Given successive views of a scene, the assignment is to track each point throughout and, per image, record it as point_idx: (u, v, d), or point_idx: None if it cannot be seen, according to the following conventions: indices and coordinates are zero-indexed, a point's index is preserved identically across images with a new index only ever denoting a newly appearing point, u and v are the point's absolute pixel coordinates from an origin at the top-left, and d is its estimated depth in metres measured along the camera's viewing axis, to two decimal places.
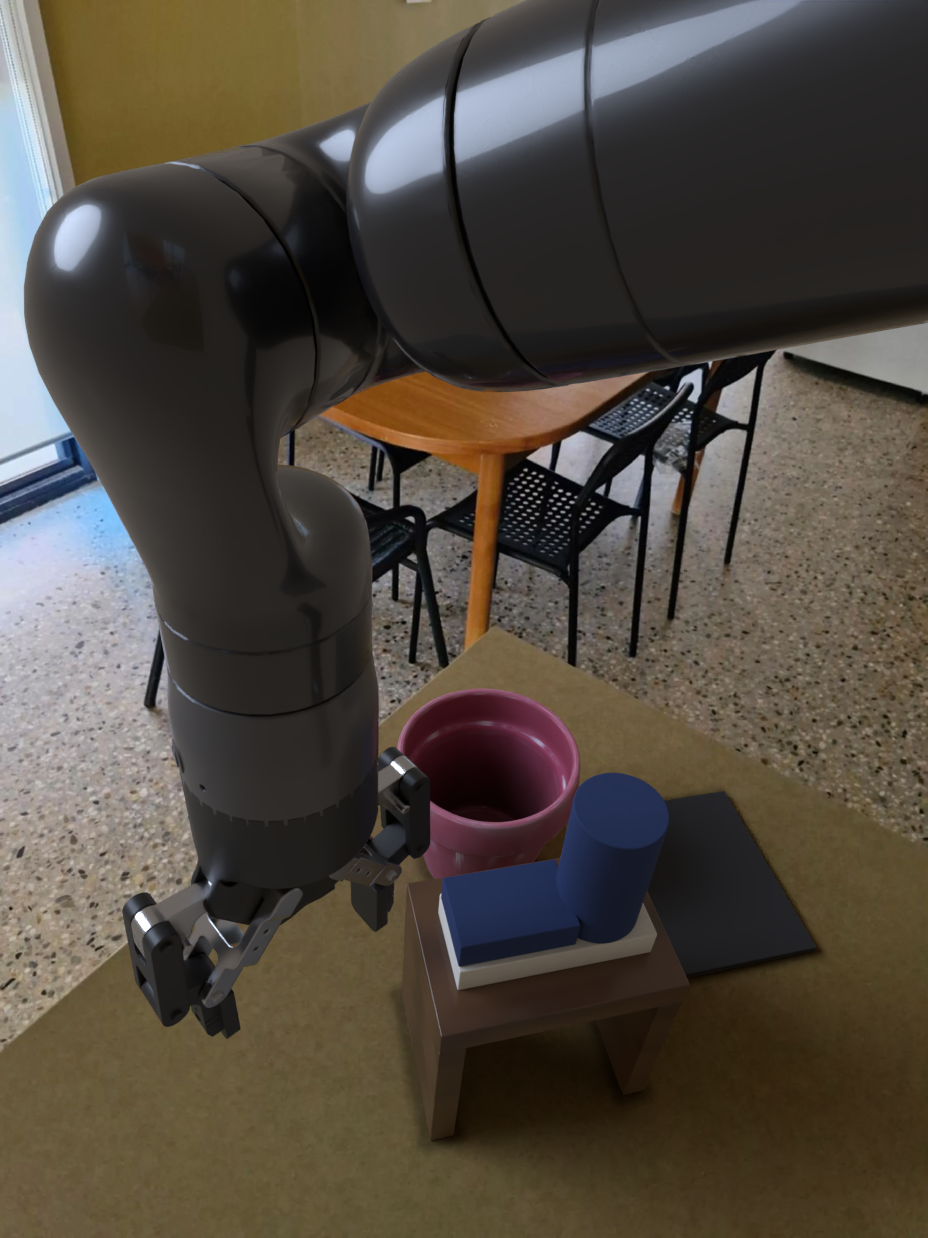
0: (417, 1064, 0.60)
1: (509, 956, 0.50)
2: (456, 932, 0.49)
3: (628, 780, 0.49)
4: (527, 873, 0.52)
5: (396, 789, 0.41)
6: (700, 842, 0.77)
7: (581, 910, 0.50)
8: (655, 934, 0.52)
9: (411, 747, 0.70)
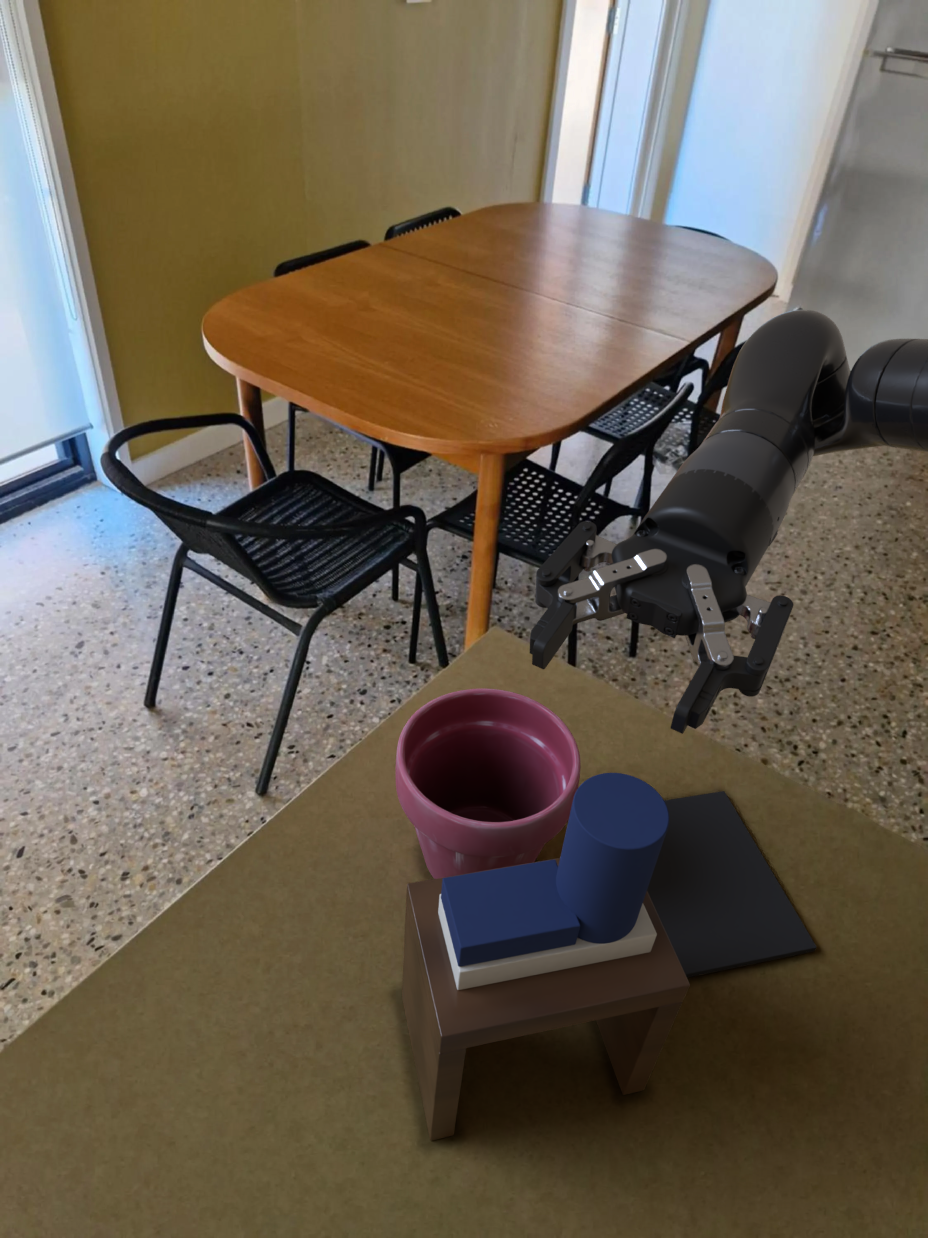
0: (417, 1064, 0.60)
1: (509, 956, 0.50)
2: (456, 932, 0.49)
3: (628, 780, 0.49)
4: (527, 873, 0.52)
5: None
6: (700, 842, 0.77)
7: (581, 910, 0.50)
8: (655, 934, 0.52)
9: (411, 747, 0.70)
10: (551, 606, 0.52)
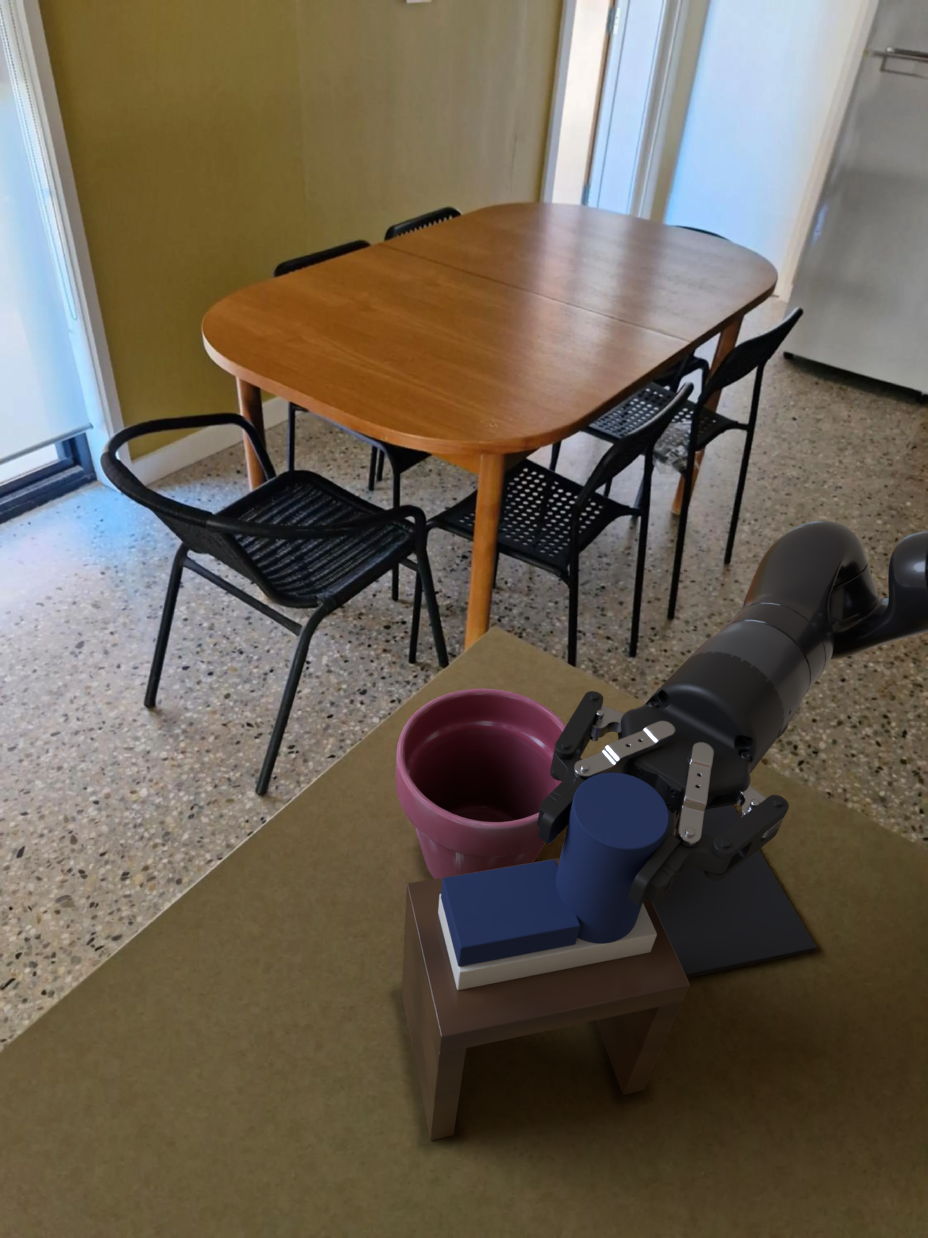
0: (417, 1064, 0.60)
1: (509, 956, 0.50)
2: (456, 932, 0.49)
3: (628, 780, 0.49)
4: (527, 873, 0.52)
5: None
6: None
7: (581, 909, 0.50)
8: (655, 934, 0.52)
9: (411, 747, 0.70)
10: (565, 780, 0.51)
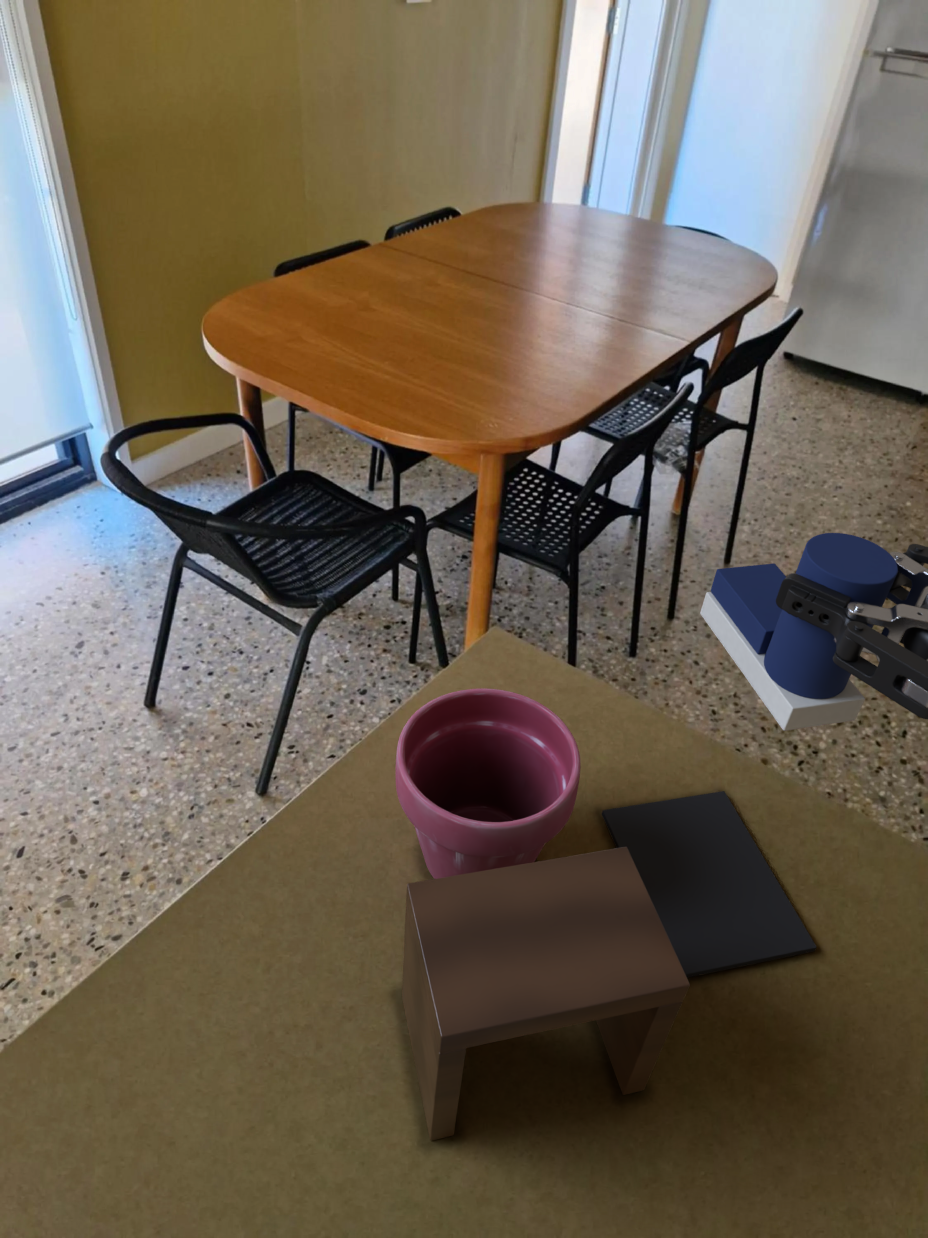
0: (417, 1064, 0.60)
1: (729, 614, 0.61)
2: None
3: (890, 565, 0.51)
4: None
5: None
6: (700, 842, 0.77)
7: None
8: (792, 707, 0.55)
9: (411, 747, 0.70)
10: None
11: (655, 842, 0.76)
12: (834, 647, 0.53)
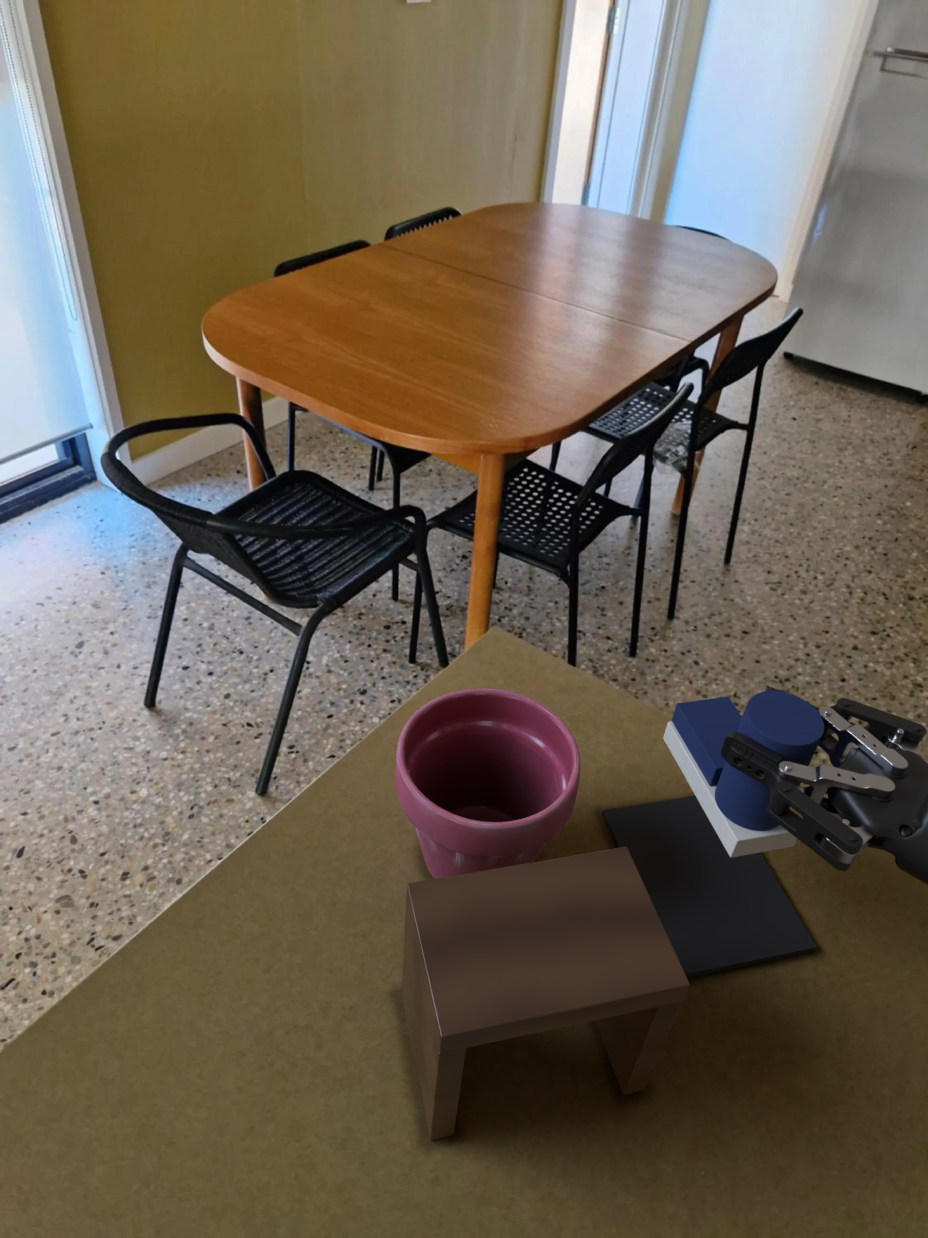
0: (417, 1064, 0.60)
1: (686, 745, 0.69)
2: None
3: (817, 725, 0.59)
4: None
5: None
6: (700, 842, 0.77)
7: None
8: (736, 840, 0.63)
9: (411, 747, 0.70)
10: (813, 706, 0.63)
11: (655, 842, 0.76)
12: None
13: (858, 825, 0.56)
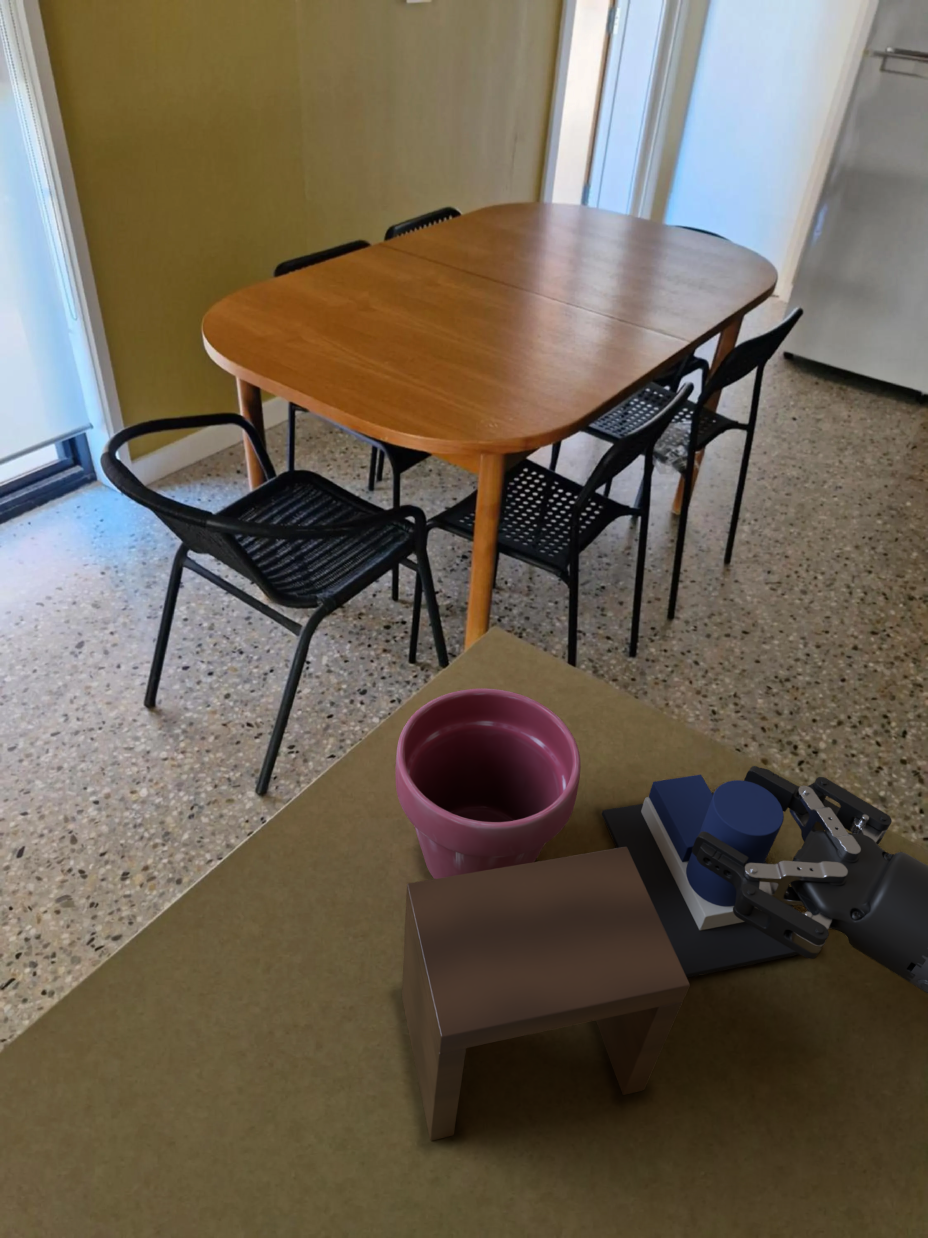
0: (417, 1064, 0.60)
1: (662, 821, 0.75)
2: (663, 780, 0.77)
3: (777, 815, 0.65)
4: None
5: None
6: None
7: None
8: (705, 915, 0.69)
9: (411, 747, 0.70)
10: (793, 785, 0.69)
11: (655, 842, 0.76)
12: None
13: None
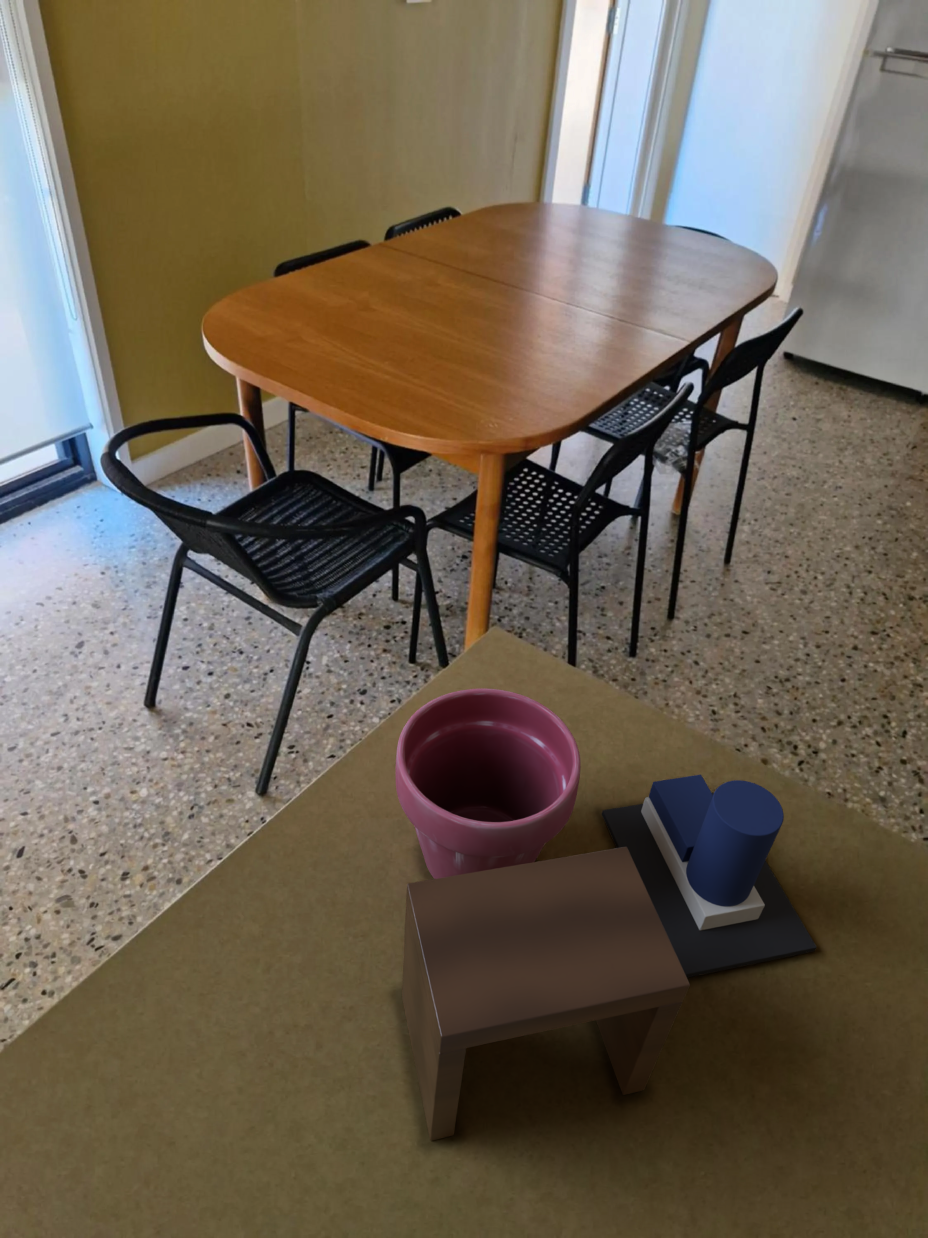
0: (417, 1064, 0.60)
1: (662, 821, 0.75)
2: (663, 780, 0.77)
3: (777, 815, 0.65)
4: None
5: None
6: None
7: None
8: (705, 915, 0.69)
9: (411, 747, 0.70)
10: None
11: (655, 842, 0.76)
12: (736, 874, 0.67)
13: None
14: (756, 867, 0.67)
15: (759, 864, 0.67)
